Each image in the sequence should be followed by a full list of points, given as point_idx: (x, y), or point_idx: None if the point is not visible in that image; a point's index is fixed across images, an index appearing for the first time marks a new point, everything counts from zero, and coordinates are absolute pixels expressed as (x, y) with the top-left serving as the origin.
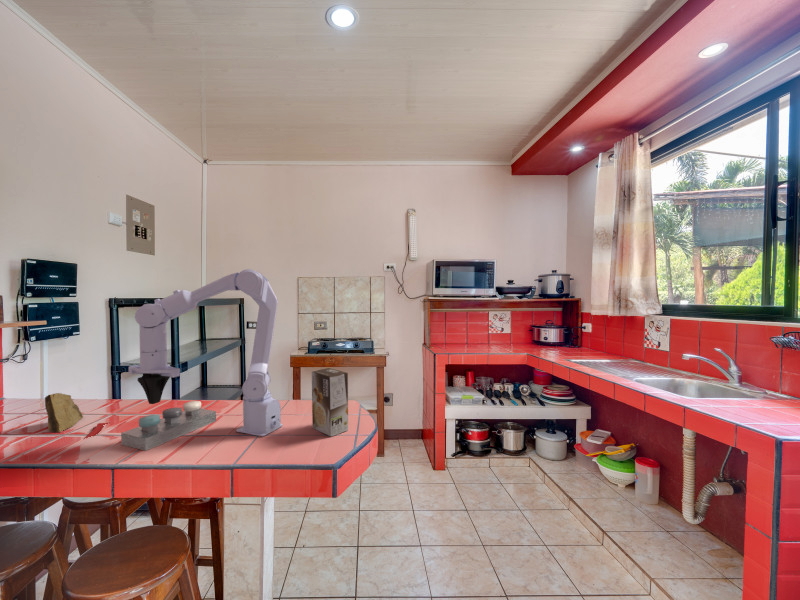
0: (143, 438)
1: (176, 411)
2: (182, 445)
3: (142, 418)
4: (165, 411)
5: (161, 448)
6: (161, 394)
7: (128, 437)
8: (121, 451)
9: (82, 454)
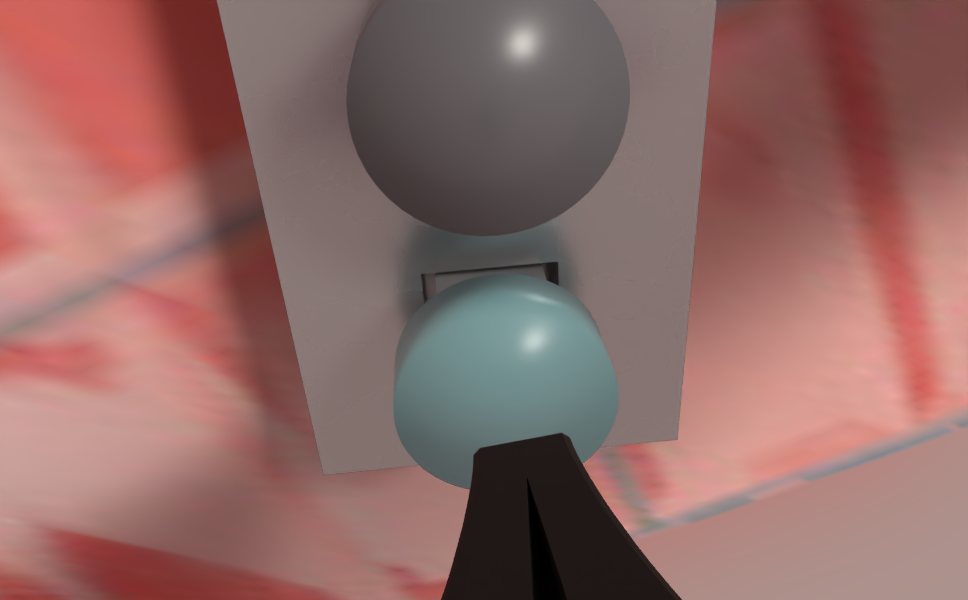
0: (647, 438)
1: (617, 114)
2: (871, 183)
3: (443, 449)
4: (447, 191)
5: (732, 295)
6: (614, 520)
7: None
8: None
9: (269, 565)
